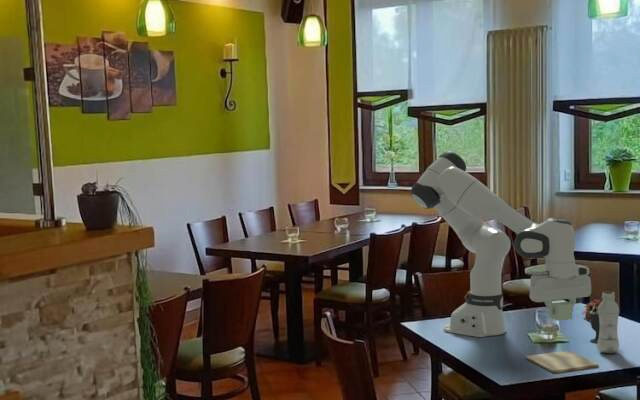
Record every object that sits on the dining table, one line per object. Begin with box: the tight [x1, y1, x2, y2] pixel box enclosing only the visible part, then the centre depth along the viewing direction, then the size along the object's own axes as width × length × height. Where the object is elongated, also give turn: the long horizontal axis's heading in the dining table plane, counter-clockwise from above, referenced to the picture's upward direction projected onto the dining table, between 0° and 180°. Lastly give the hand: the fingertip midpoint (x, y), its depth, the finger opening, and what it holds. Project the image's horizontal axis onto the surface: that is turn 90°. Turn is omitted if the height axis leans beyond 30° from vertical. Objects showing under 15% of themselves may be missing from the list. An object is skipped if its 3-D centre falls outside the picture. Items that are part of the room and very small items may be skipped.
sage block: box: [548, 299, 573, 322], centre depth 244 cm, size 5×5×5 cm
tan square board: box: [525, 349, 600, 374], centre depth 246 cm, size 16×16×1 cm
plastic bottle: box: [596, 291, 620, 354], centre depth 253 cm, size 6×7×20 cm
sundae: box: [588, 298, 603, 344], centre depth 266 cm, size 7×7×15 cm
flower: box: [581, 298, 603, 320], centre depth 296 cm, size 10×9×8 cm
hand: (560, 313), depth 244 cm, fingers closed on sage block, 5 cm apart
